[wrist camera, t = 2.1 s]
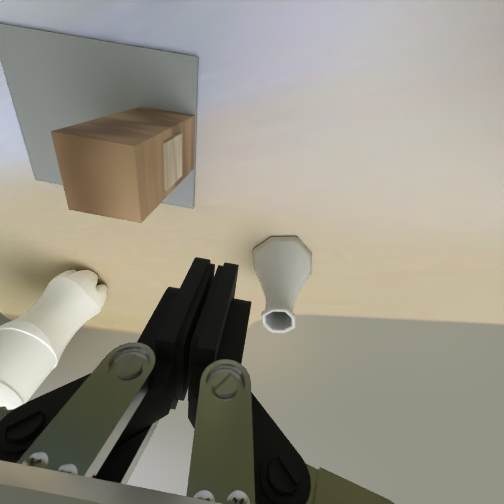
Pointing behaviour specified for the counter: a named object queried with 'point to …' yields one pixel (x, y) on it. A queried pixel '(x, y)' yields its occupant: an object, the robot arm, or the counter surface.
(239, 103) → the counter surface
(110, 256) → the counter surface
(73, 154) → the cardboard box
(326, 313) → the counter surface
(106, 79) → the mat
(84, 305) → the water bottle
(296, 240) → the flask
